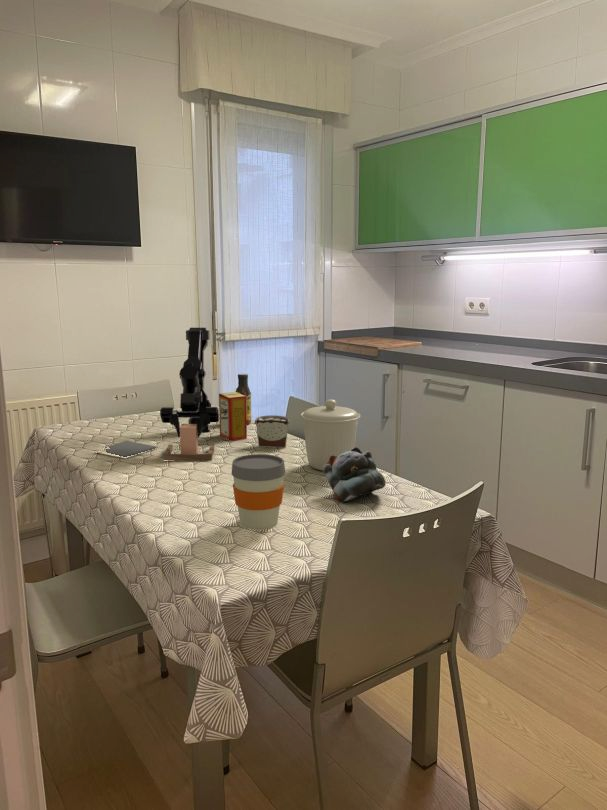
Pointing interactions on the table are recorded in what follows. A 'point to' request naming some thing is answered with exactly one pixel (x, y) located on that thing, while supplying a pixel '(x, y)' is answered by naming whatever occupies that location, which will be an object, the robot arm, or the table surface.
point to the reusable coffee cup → (258, 489)
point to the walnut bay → (188, 455)
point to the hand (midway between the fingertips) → (188, 436)
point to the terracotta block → (189, 439)
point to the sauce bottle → (245, 393)
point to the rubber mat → (128, 448)
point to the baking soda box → (233, 416)
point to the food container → (272, 431)
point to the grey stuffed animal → (353, 475)
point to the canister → (328, 432)
